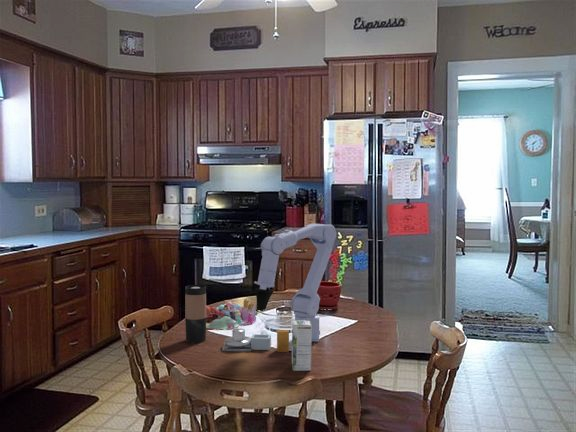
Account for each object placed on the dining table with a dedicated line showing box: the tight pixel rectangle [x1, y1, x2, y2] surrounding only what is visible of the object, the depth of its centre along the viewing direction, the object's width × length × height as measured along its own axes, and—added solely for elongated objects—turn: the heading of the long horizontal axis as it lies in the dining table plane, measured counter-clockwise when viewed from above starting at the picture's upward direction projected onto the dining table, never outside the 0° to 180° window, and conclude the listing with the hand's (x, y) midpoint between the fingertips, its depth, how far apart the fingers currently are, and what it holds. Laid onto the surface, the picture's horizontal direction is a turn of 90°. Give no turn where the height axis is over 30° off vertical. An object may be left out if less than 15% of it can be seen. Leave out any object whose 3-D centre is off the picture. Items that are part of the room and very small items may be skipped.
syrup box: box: [291, 320, 313, 372], centre depth 164 cm, size 6×6×14 cm
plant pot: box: [317, 280, 342, 310], centre depth 244 cm, size 13×13×12 cm
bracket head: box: [250, 330, 272, 351], centre depth 189 cm, size 7×13×4 cm, turn 177°
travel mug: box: [184, 284, 207, 344], centre depth 193 cm, size 8×8×20 cm
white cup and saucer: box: [221, 328, 253, 353], centre depth 186 cm, size 10×10×6 cm
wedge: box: [276, 329, 290, 353], centre depth 182 cm, size 2×4×7 cm, turn 86°
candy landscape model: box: [206, 298, 257, 330], centre depth 220 cm, size 25×24×9 cm
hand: (261, 309), depth 181 cm, fingers open, 7 cm apart
